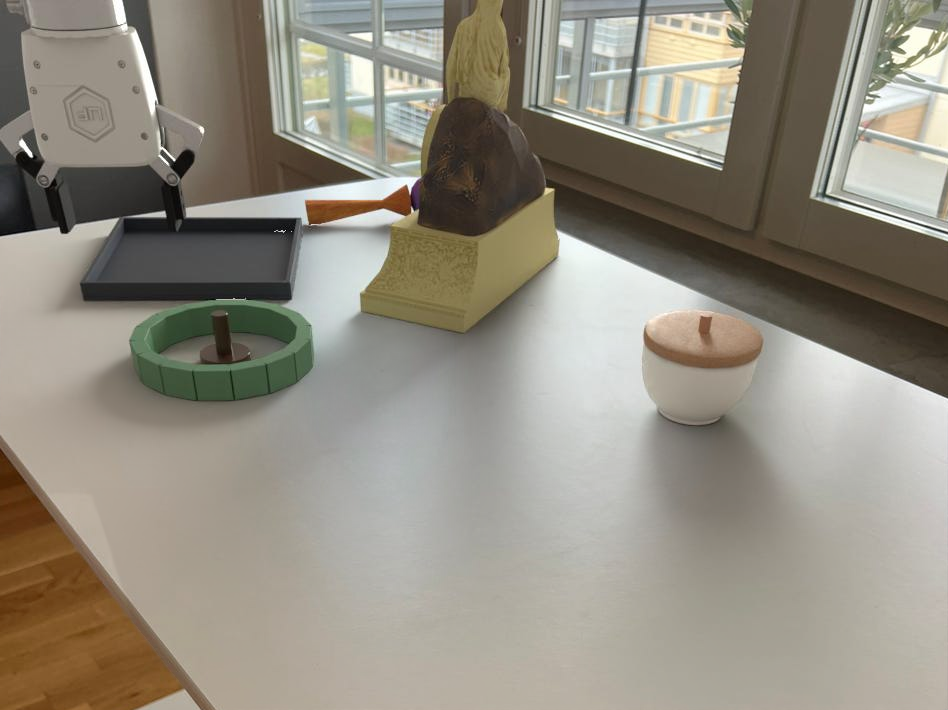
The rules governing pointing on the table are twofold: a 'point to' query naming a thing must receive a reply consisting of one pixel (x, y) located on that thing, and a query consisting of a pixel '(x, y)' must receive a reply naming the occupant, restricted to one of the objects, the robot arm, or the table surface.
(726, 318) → the trinket box
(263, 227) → the tray
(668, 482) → the table surface
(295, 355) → the ring
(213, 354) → the peg stand
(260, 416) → the table surface
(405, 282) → the statue on pedestal
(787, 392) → the table surface
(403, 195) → the kendama
